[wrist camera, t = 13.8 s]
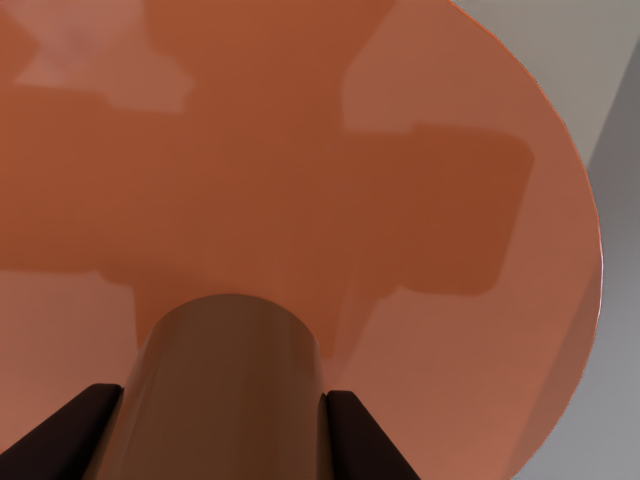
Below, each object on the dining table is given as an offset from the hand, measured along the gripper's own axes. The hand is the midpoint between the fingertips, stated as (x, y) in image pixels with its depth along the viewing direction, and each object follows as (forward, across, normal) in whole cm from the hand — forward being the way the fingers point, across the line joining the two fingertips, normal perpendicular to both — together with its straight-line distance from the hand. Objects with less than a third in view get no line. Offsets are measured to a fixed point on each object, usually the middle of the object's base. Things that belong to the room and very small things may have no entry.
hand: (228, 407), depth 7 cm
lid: (+1, 0, 0) cm, 1 cm away
